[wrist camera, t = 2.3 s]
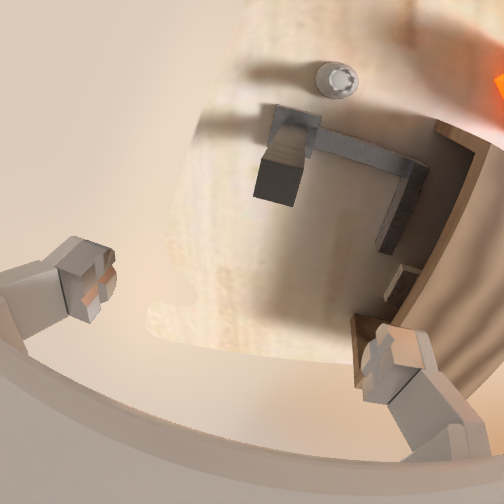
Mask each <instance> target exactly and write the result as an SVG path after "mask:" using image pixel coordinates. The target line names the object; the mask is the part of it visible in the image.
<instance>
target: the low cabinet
mask: <svg viewBox="0 0 504 504" xmlns="http://www.w3.org/2000/svg"><path fill="white" fill-rule="evenodd" d="M434 131H436V132H438V133H440V134H442V135H443V136H445V137H447V138H449V139H451V140H453V141H455V142H457V143H458V144H460V145H462V146H464V147H466V148H467V149H469V150H471V151H473V152H474V153H475V155H474V158H473V161H472V163H471V166H470V169H469V171H468V174H467V176H466V179H465V181H464V184H463V186H462V189H461V191H460V194H459V196H458V198H457V201H456V203H455V205H454V207H453V210H452V212H451V214H450V216H449V218H448V220H447V223H446V225H445V227H444V229H443V231H442V233H441V235H440V237H439V239H438V241H437V243H436V245H435V247H434V249H433V251H432V253H431V255H430V257H429V259H428V261H427V262H426V264H425V266H424V268H423V270H422V272H421V273H420V275H419V277H418V279H417V281H416V282H415V284H414V286H413V288H412V289H411V291H410V293H409V294H408V296H407V298H406V299H405V301H404V303H403V304H402V306H401V308H400V309H399V311H398V313H397V314H396V316H395V317H394V319H393V320H392V322H388V321H384V320H379V319H375V318H371V317H367V316H363V315H358V314H354V315H353V316H352V318H351V320H350V322H351V334H352V348H353V364H354V384H355V388H358V389H363V387H362V383H363V381H364V380H365V379H366V377H365V375H364V374H363V373H362V371H361V361H362V356H363V353H364V350H365V348H366V346H367V345H368V343H369V342H370V341H372V340H374V339H376V331H377V329H378V327H379V326H380V325H381V324H382V323H386V324H390V325H395V326H399V327H404V328H408V329H416V330H421V331H425V332H426V333H427V334H428V336H429V339H430V343H431V346H432V349H433V353H434V356H435V360H436V363H437V367H438V371H439V372H443V373H444V375H445V376H446V377H447V378H448V379H449V380H450V382H451V383H452V384H453V385H454V386H455V387H456V389H457V390H458V391H459V392H460V393H461V395H462V396H463V397H464V398H465V399H467V398H468V397H470V396H471V395H472V394H473V393H474V392H475V391H476V390H477V389H478V388H479V387H480V386H481V385H482V384H483V383H484V382H485V381H486V380H487V379H488V378H489V376H490V375H491V374H492V373H493V372H494V371H495V370H496V369H497V368H498V367H499V366H500V365H501V364H502V362H503V361H504V151H503V150H501V149H500V148H498V147H496V146H495V145H493V144H491V143H489V142H487V141H485V140H483V139H481V138H479V137H477V136H475V135H473V134H471V133H468V132H466V131H464V130H462V129H459V128H457V127H455V126H452V125H450V124H448V123H445V122H443V121H440V120H438V119H437V122H436V125H435V128H434Z"/></svg>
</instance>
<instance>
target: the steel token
mask: <svg viewBox="0 0 504 504" xmlns="http://www.w3.org/2000/svg"><path fill="white" fill-rule="evenodd" d="M421 272H422V270H420V269H417V268H414V267H411V266H408V265H405V264H400V266H399V268H398V270H397V272H396V274H395V276H394V277H393V279H392V281H391V283H390V285H389V287H388V288H387V290H386V292H385V294H384V301H385V303H388V304H392V305H396V306H400V307H401V306H402V304H403V303H404V301H405V299H406V298H407V296H408V294H409V293H410V291H411V289H412V288H413V286H414V284H415V282H416V281H417V279H418V277H419V275H420V273H421Z"/></svg>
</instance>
